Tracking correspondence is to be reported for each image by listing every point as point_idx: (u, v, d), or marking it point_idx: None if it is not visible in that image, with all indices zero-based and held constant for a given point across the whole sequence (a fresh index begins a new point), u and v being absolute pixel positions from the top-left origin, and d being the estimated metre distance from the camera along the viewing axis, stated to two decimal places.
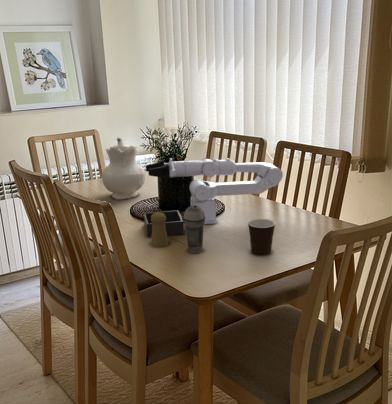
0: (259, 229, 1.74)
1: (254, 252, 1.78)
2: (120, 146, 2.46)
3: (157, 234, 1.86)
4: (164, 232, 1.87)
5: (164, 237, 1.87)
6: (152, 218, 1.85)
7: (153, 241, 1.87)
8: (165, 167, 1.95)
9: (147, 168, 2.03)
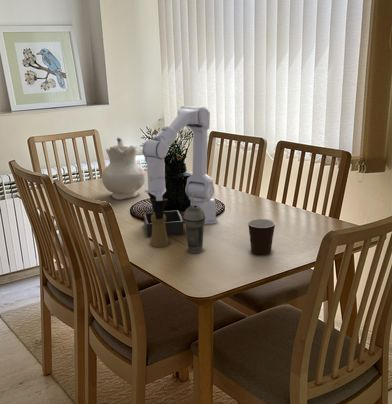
0: (259, 229, 1.74)
1: (254, 252, 1.78)
2: (120, 146, 2.46)
3: (157, 234, 1.86)
4: (164, 232, 1.87)
5: (164, 237, 1.87)
6: (152, 218, 1.85)
7: (153, 241, 1.87)
8: (153, 204, 1.78)
9: None
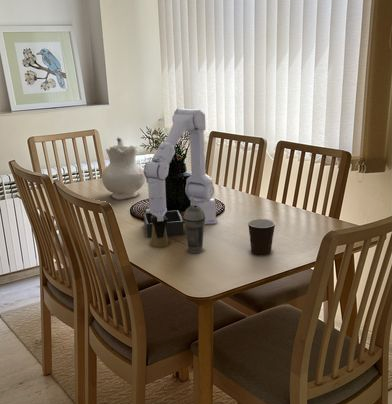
0: (259, 229, 1.74)
1: (254, 252, 1.78)
2: (120, 146, 2.46)
3: None
4: (164, 232, 1.87)
5: (164, 237, 1.87)
6: None
7: (153, 241, 1.87)
8: (154, 223, 1.82)
9: None
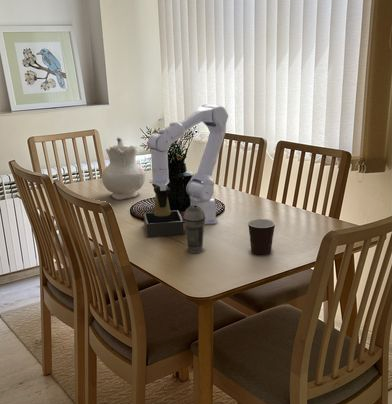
0: (259, 229, 1.74)
1: (254, 252, 1.78)
2: (120, 146, 2.46)
3: None
4: None
5: (166, 207, 1.96)
6: None
7: (156, 211, 1.96)
8: (157, 193, 1.91)
9: None
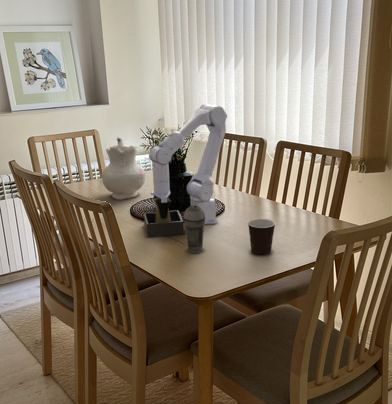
0: (259, 229, 1.74)
1: (254, 252, 1.78)
2: (120, 146, 2.46)
3: None
4: None
5: (167, 218, 2.00)
6: None
7: (157, 222, 2.00)
8: (158, 204, 1.95)
9: None
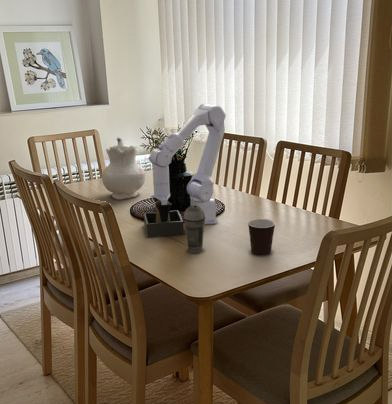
0: (259, 229, 1.74)
1: (254, 252, 1.78)
2: (120, 146, 2.46)
3: None
4: None
5: None
6: None
7: None
8: (158, 207, 1.94)
9: None
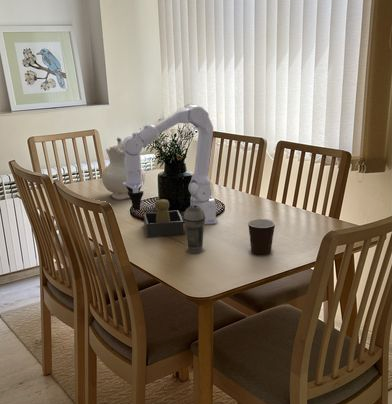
0: (259, 229, 1.74)
1: (254, 252, 1.78)
2: (120, 146, 2.46)
3: (161, 219, 1.99)
4: (167, 217, 2.00)
5: None
6: (156, 204, 1.98)
7: None
8: (130, 196, 1.93)
9: None
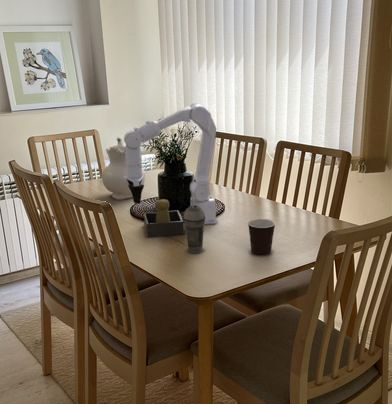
0: (259, 229, 1.74)
1: (254, 252, 1.78)
2: (120, 146, 2.46)
3: (161, 219, 1.99)
4: (167, 217, 2.00)
5: None
6: (156, 204, 1.98)
7: None
8: (131, 189, 1.96)
9: None
